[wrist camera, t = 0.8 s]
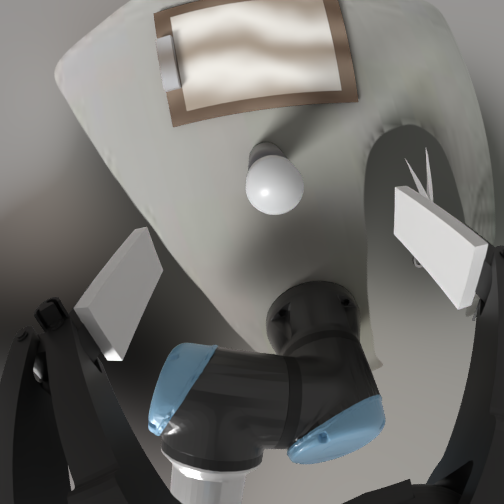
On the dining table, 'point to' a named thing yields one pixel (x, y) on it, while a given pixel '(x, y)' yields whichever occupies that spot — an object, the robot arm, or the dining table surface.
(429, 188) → the scissors
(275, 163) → the marker
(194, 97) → the clipboard
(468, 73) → the dining table surface
